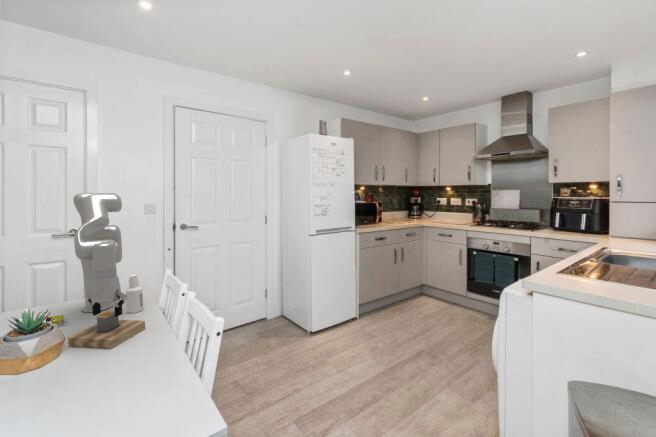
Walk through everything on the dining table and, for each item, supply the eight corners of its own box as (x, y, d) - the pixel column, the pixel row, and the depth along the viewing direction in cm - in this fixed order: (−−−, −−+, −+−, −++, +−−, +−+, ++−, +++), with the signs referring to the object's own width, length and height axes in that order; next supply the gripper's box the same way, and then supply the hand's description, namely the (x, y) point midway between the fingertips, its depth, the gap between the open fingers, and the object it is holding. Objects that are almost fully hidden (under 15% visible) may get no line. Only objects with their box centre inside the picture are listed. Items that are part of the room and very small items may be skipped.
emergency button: (25, 318, 138) (69, 310, 147) (25, 328, 138) (69, 319, 147) (21, 325, 130) (67, 316, 139) (21, 335, 131) (68, 326, 139)
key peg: (98, 340, 124) (96, 315, 123) (110, 333, 130) (109, 310, 129) (107, 340, 124) (105, 316, 123) (119, 334, 130) (118, 310, 129)
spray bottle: (146, 309, 158) (144, 274, 157) (134, 314, 152) (132, 277, 151) (136, 307, 161) (134, 273, 159) (123, 312, 154) (121, 276, 153)
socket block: (68, 346, 119) (67, 337, 119) (107, 327, 137) (107, 319, 137) (111, 348, 117) (110, 339, 117) (145, 328, 135) (144, 320, 134)
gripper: (77, 275, 122) (80, 317, 124) (117, 276, 120) (119, 319, 122) (93, 270, 130) (96, 310, 131) (132, 271, 128) (134, 312, 129)
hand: (107, 314), depth 127 cm, fingers open, 9 cm apart
